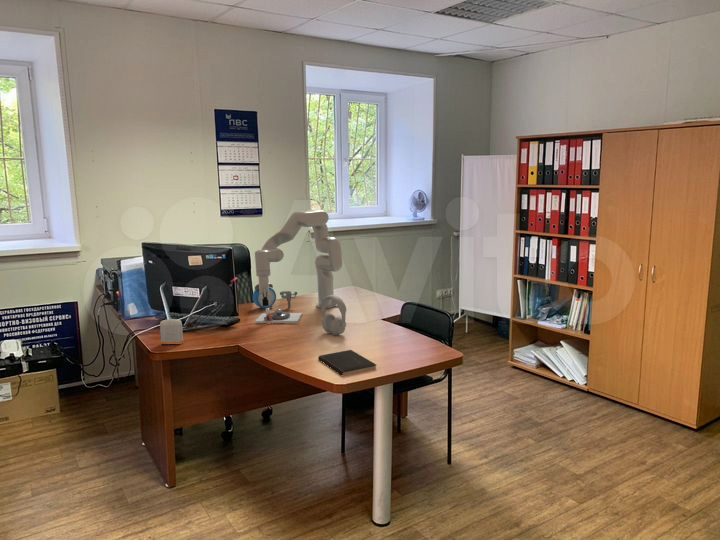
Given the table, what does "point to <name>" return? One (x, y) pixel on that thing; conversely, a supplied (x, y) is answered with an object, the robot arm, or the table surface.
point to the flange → (276, 314)
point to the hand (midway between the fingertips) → (265, 305)
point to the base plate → (292, 319)
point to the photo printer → (171, 330)
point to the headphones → (329, 320)
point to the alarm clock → (258, 298)
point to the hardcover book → (347, 362)
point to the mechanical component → (288, 296)
